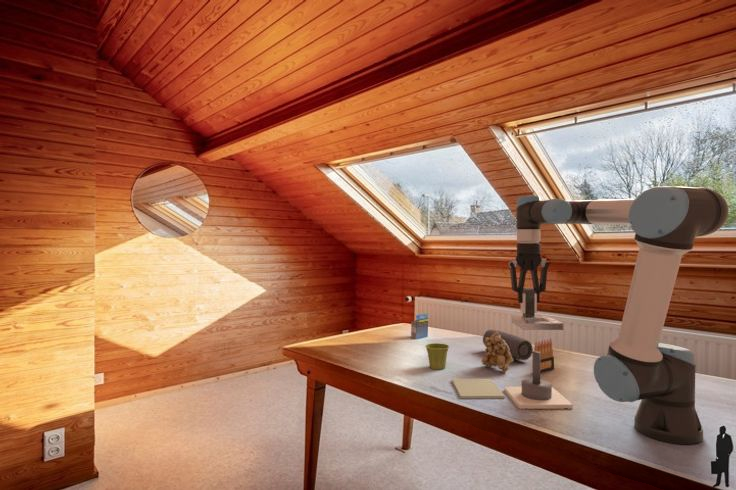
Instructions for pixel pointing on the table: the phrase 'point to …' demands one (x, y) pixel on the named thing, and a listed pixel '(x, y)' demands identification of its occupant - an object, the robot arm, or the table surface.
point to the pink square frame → (530, 319)
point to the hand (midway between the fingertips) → (528, 312)
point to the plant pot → (437, 355)
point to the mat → (477, 388)
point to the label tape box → (419, 327)
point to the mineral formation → (497, 352)
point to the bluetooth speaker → (513, 344)
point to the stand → (537, 391)
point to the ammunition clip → (545, 355)
